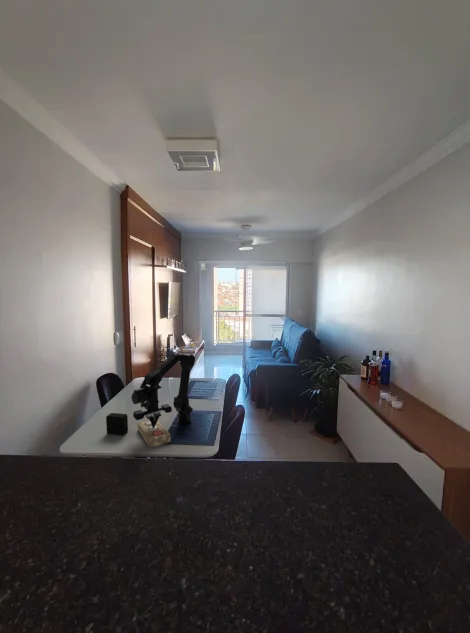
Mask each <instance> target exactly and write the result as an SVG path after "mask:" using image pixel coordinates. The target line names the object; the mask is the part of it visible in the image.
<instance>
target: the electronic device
mask: <svg viewBox="0 0 470 633" xmlns="http://www.w3.org/2000/svg"><path fill="white" fill-rule="evenodd" d="M105 420H106V421H105V424H106V434H108V435H111V434H112V435H113V436H125V434H127V433H128V432H129V423H128V414H126V413H117V412H111V413H109V414H108V415H106V417H105Z"/></svg>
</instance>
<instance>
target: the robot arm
mask: <svg viewBox="0 0 470 633" xmlns="http://www.w3.org/2000/svg"><path fill="white" fill-rule="evenodd" d="M195 361H196V356H195V355H194V354H191V353H186V352H185V353H184V352H183V354H179V353H172V354H171V356H170V357H169V358H167V360H165V361H164V362H163V363H162V364H161V365H160V366H159V367H158V368H156V369H154V370H151V371H150V372H149V373H147V374H145V376H144V378H143V380H142V383H141V384H140V387H139V388H138V389H134V390H133V392H132V394H131V397H130V398H131V401H132V403H133V404H134V405H137V404H140V408H144V409H145V411H142V409H139V410H135V411H133V413H132V415H133V416H132V417H133V418H134V420H135V421H139V420H143V419H144V418H146V419H147V420H148V421H149V420H150V423H151V425H152V427H153V428H155V425H156V423H157V421H159V419H160V417H161V416H162V414H161V412H164V413H166V414H169V413H172V412H173V408H174V409H175V411H176V412H177V415H176V416H177V420H176V422H177V423H179V425H181V426H185V425H188V424H191V423H192V420H191V413H193V407H191V405H190V400H189V397H188V391H189V386H190V377H191V370H192V369H193V367H194V365H195ZM177 363H179V365H180V367H181V368H180V369H181V371H180V372H181V374H180V381H179V388H178V394H177V396H174V397H173V408H172V406H171V405H170V404H168V403H166V404H162V405H161V406H160V407H159V403H160V400H159V390H160V389H162V386H161V385H160V383H161V382H162V380H163V377H164V376H165V375H166V374H167V373H168V372H169V371H170V370H171V369H172V368H173V367H174V366H175V365H176V364H177Z"/></svg>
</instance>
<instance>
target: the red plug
mask: <svg viewBox="0 0 470 633" xmlns="http://www.w3.org/2000/svg"><path fill="white" fill-rule="evenodd" d="M159 435H162V431H161V430H159V429H158V430H154V431H153V436H154V437H155V436H159Z"/></svg>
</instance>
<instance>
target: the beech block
mask: <svg viewBox="0 0 470 633" xmlns="http://www.w3.org/2000/svg"><path fill="white" fill-rule="evenodd" d="M149 421H150V420H149V419H148V420H145V421H142V422H137V430H138V432H139V434H140V435H141V437H142V438H143V439H144V440H145V442H146V443H147V444H148V446H149V447H150V448H154V447H159V446H161V445H164V444H165V445H166V444H168V443H171V433H170V432H169V431H168V430H167V429H166V428H165V426H163V425H162V424H161V423H160V421H159V420H158V421H157V423H156V425H155V426H157V430H158V429H159V430H161V431H162V435H159V436H155V437H154V436H153V431H149V428H150V427H151V426H152V425H151V426H147V427H146V422H149Z"/></svg>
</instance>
